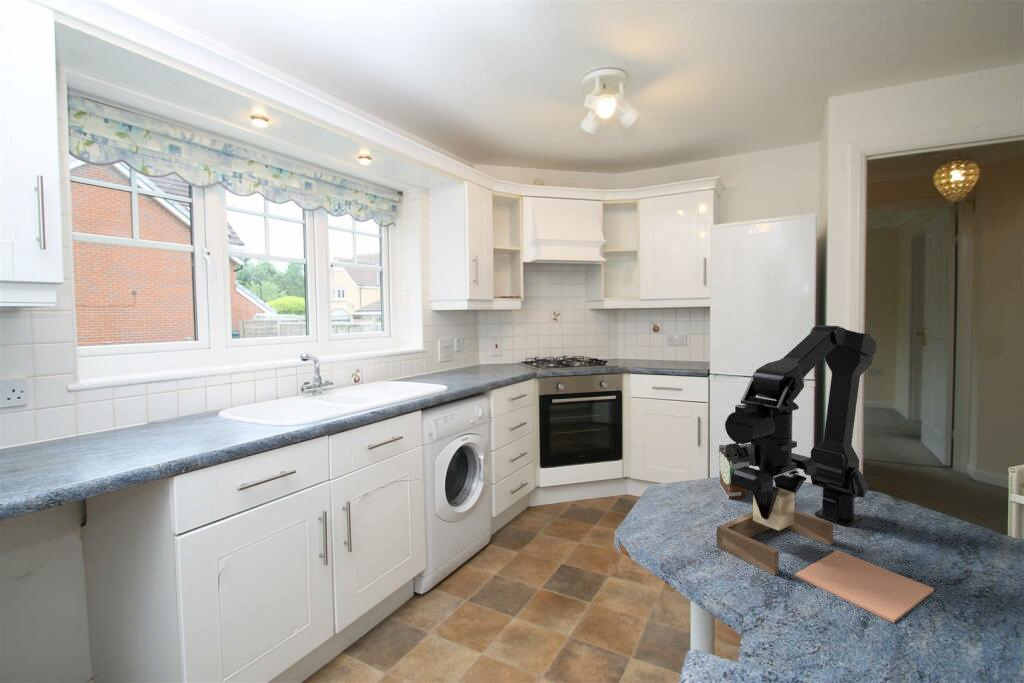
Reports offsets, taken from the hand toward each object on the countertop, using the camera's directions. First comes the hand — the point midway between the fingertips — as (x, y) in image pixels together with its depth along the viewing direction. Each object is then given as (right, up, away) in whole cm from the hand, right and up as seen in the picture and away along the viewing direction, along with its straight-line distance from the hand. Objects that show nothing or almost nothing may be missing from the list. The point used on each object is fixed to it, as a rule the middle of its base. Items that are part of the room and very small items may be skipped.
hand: (773, 515), depth 90 cm
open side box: (0, -6, 0) cm, 6 cm away
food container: (+5, -4, +25) cm, 26 cm away
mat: (+8, -7, -12) cm, 16 cm away
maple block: (0, -1, 0) cm, 1 cm away
